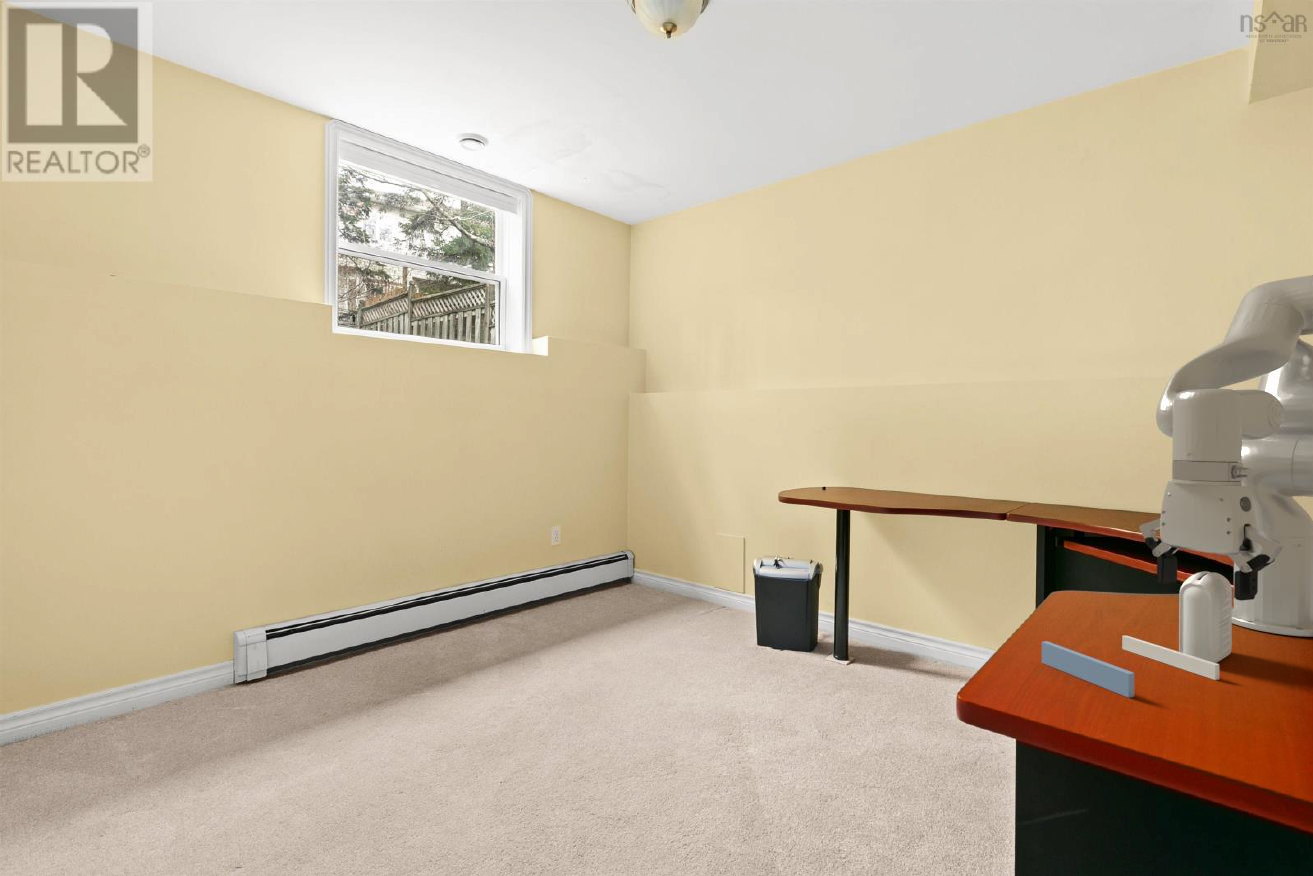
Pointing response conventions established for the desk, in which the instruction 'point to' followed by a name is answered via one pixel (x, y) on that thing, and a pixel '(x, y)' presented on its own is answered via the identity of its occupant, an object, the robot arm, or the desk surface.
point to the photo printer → (1205, 616)
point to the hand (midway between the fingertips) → (1204, 590)
